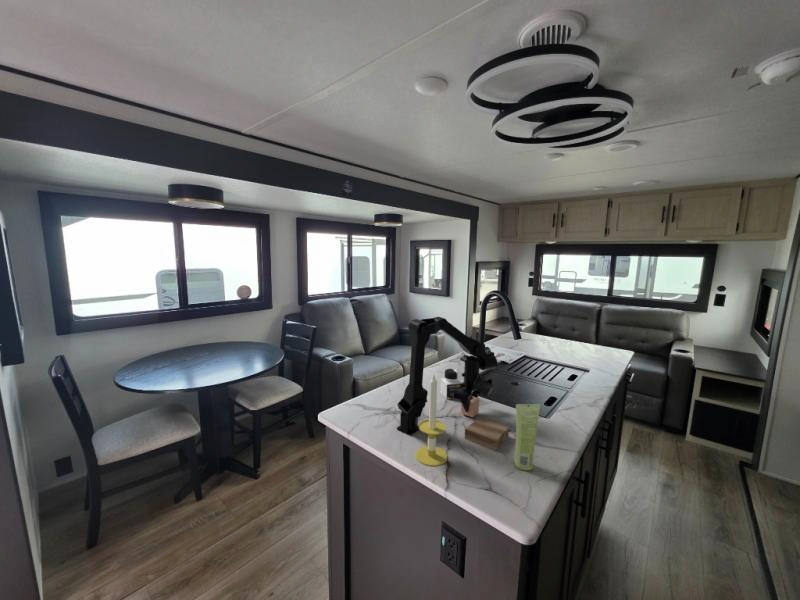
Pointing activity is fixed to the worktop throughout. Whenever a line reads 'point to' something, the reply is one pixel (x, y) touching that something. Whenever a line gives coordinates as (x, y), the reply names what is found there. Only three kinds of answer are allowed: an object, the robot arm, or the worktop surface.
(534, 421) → the tube
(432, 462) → the candle
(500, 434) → the walnut block
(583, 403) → the worktop surface
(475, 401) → the terracotta block
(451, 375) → the medicine bottle
